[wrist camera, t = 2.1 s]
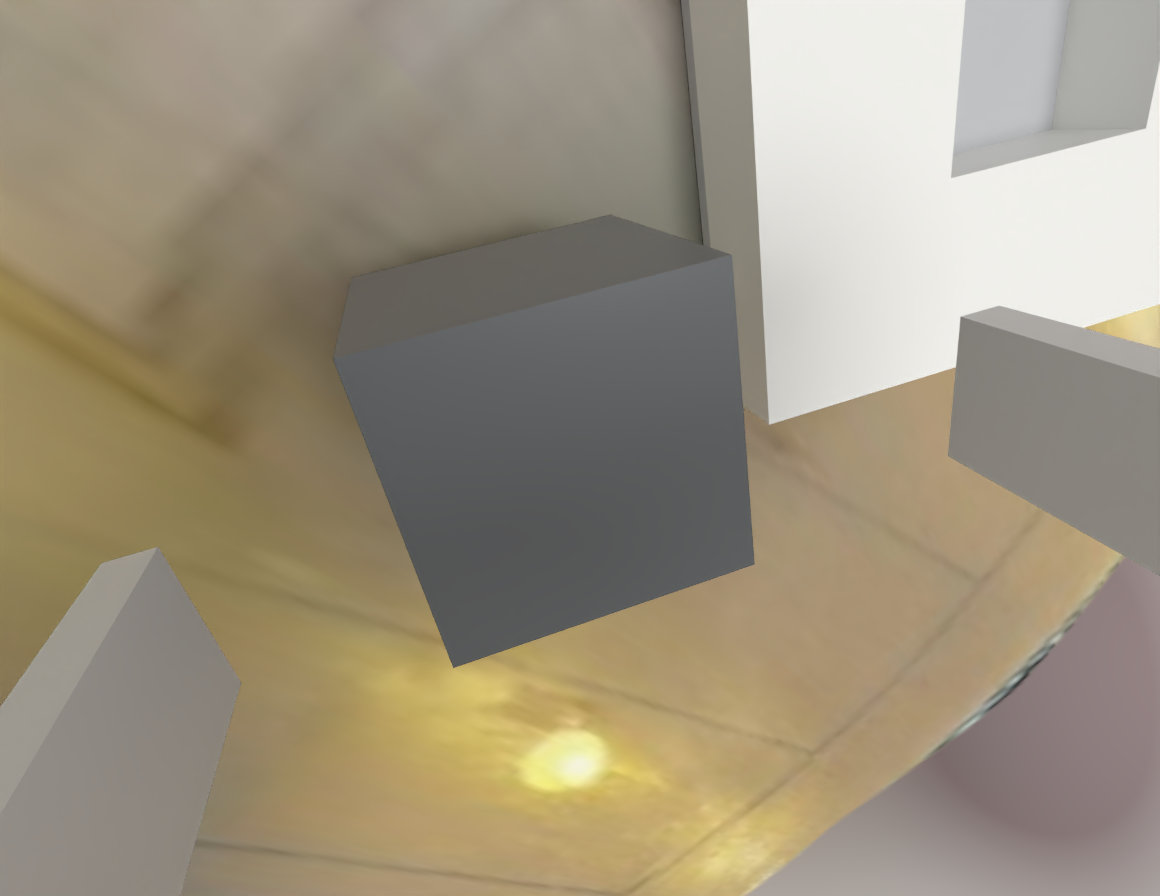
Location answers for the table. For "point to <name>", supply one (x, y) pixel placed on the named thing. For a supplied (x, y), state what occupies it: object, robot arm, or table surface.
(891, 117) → the socket plate
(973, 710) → the table surface
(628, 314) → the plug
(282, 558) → the table surface
